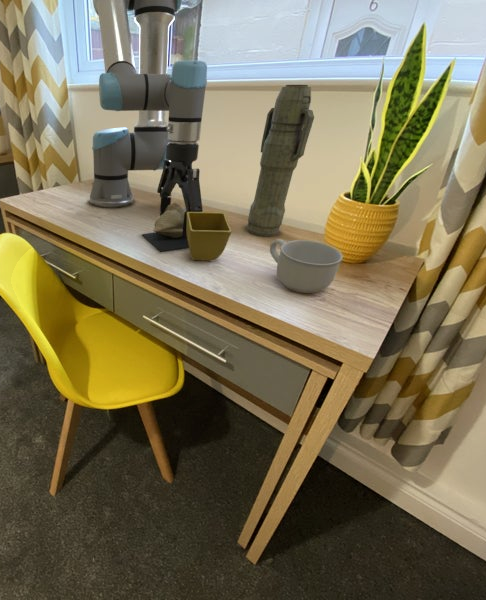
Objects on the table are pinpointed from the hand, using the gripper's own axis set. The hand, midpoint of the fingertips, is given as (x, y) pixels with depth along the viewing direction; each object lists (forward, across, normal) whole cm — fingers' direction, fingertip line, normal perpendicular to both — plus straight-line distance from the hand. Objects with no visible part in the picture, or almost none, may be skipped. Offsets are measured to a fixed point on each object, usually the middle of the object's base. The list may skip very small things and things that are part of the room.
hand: (175, 229), depth 89 cm
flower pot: (+2, +14, 0) cm, 14 cm away
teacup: (+2, +31, +12) cm, 33 cm away
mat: (+2, +2, 0) cm, 3 cm away
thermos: (+2, +4, +26) cm, 26 cm away
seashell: (+2, 0, 0) cm, 2 cm away
